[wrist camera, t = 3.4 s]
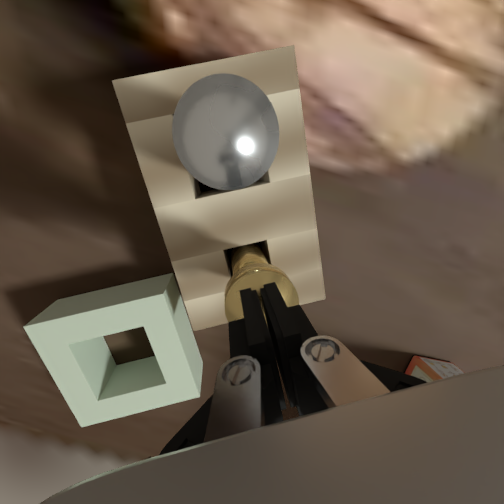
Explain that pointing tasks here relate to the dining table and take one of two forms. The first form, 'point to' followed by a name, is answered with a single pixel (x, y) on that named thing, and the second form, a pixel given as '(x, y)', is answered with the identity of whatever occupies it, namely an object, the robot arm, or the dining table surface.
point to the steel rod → (225, 131)
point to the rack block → (100, 358)
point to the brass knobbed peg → (254, 280)
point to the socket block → (227, 201)
